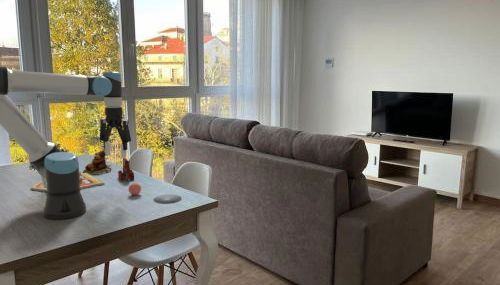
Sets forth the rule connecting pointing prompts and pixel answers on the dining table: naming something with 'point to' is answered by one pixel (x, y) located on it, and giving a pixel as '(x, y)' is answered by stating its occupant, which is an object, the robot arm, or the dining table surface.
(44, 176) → the robot arm
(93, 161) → the bear figurine
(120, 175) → the toy fire truck
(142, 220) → the dining table surface
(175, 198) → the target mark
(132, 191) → the ball
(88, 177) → the knob puzzle
